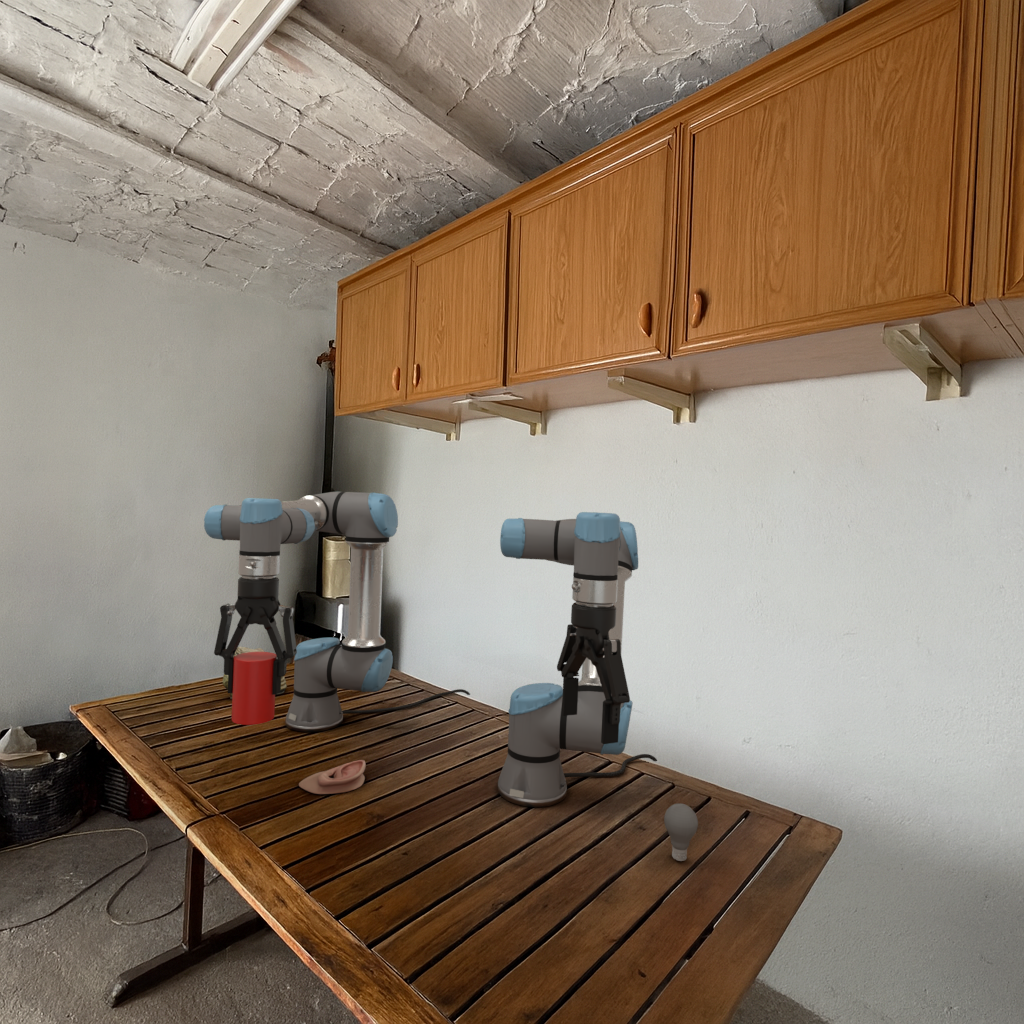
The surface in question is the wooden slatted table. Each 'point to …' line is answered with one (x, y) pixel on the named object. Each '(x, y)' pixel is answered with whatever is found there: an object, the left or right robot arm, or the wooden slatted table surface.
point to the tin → (253, 688)
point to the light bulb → (680, 828)
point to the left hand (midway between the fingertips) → (254, 691)
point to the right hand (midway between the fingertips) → (588, 727)
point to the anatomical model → (336, 779)
